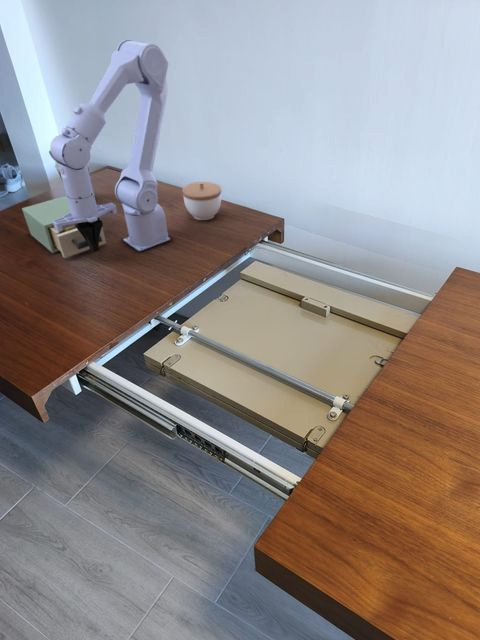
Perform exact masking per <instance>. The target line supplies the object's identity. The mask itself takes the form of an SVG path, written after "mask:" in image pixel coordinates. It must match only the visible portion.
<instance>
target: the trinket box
mask: <svg viewBox="0 0 480 640" xmlns="http://www.w3.org/2000/svg"><path fill="white" fill-rule="evenodd" d="M181 190H182V191H181V192H182V197H183V203H184V206H185V208H186V211H187V212H188V213H189V214H190V215H191V216H192V217H193V218H194V219H195V220H199V221H209V220H212V219H213V218H215V215H216V214H217V213H218V212H219V210H220V209H221V205H222V187H221V185H219V184H217V183H215V182H212V181H211V182H210V181H196V182H192V183H188V184H186V185H185V186H183V188H182V189H181Z"/></svg>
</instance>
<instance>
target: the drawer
mask: <svg viewBox="0 0 480 640" xmlns="http://www.w3.org/2000/svg"><path fill="white" fill-rule="evenodd" d="M48 231H49V234H50V237H51V240H52V243H53V245H54V246H55V247H56V248H57V249H58V250H60V251H59V252H60V253H61V256H62V257H63V259H66V258H69V257H72V256H74V255H78V254H80V253H83V252H85V251H88V250H91V249H90V248H89V246H88V244H87V242H86V240H85V239H84V237H83V236H82V234H81V233H80V232H79V231H78V229H77V228H76V229H73V230H70V231H67V232H64V233H61V232H58V231H57V230H55V228H54V226H51V227H48ZM106 244H107V241H106V237H105V232H104V228H103V227H102V229H101V232H100V236H99V247H100V246H102V245H106Z"/></svg>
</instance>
